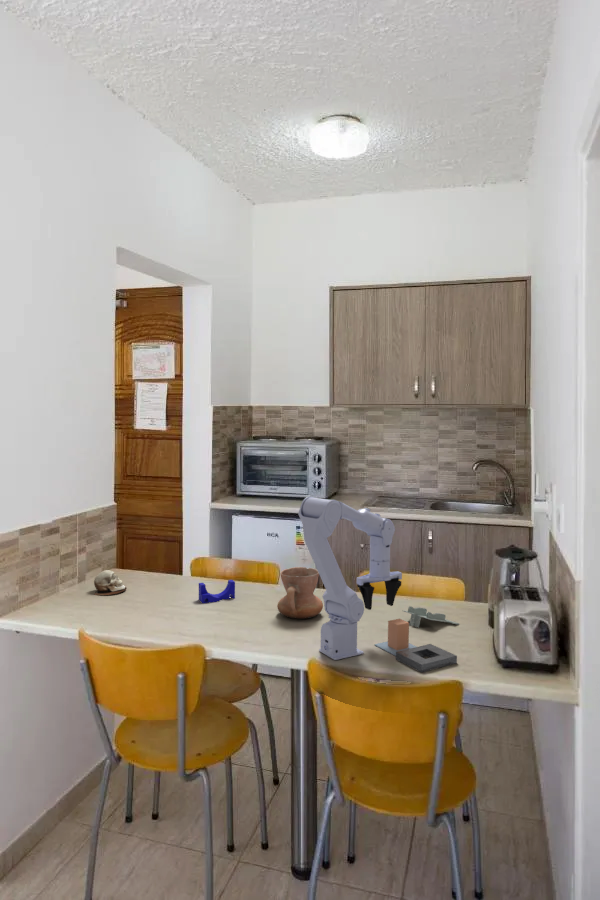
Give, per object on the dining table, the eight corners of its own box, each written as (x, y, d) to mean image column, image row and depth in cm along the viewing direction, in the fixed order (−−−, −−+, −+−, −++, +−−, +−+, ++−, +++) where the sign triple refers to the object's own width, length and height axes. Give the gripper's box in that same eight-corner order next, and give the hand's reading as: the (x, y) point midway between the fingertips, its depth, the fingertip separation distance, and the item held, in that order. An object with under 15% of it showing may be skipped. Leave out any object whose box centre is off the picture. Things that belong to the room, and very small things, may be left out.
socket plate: (421, 672, 163) (421, 664, 163) (395, 659, 171) (395, 651, 171) (456, 663, 169) (456, 655, 169) (430, 651, 178) (430, 643, 177)
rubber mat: (395, 655, 174) (395, 654, 174) (374, 645, 182) (374, 644, 182) (421, 649, 179) (421, 648, 179) (399, 639, 186) (399, 638, 186)
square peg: (397, 650, 177) (397, 625, 177) (387, 645, 180) (388, 620, 180) (408, 647, 179) (409, 622, 179) (399, 643, 183) (399, 618, 182)
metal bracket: (435, 614, 192) (396, 602, 204) (431, 634, 191) (392, 621, 203) (463, 618, 201) (424, 607, 213) (459, 637, 201) (421, 625, 212)
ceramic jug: (289, 605, 219) (289, 563, 218) (330, 609, 213) (330, 567, 212) (266, 622, 202) (266, 576, 201) (310, 627, 197) (309, 581, 195)
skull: (130, 583, 241) (126, 567, 233) (125, 608, 234) (121, 592, 226) (97, 582, 240) (92, 566, 233) (91, 607, 233) (86, 591, 226)
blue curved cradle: (202, 603, 220) (202, 586, 219) (198, 600, 224) (198, 583, 223) (236, 600, 225) (236, 582, 224) (232, 596, 229) (232, 579, 228)
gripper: (367, 565, 178) (366, 614, 179) (409, 559, 185) (408, 606, 186) (352, 560, 184) (351, 607, 185) (393, 554, 191) (392, 600, 192)
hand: (379, 606), depth 186 cm, fingers open, 7 cm apart
